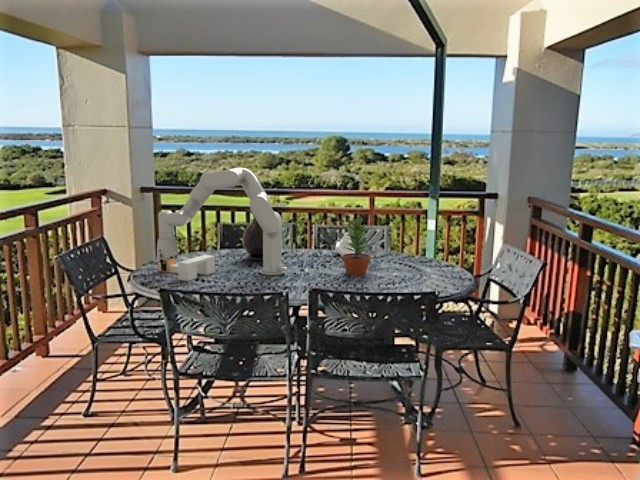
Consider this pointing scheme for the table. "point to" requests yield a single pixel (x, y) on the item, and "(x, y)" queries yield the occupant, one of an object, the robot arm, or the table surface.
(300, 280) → the table surface
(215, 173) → the robot arm
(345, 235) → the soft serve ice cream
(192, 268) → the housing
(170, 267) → the plug
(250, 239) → the amphora vase
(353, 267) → the potted plant
